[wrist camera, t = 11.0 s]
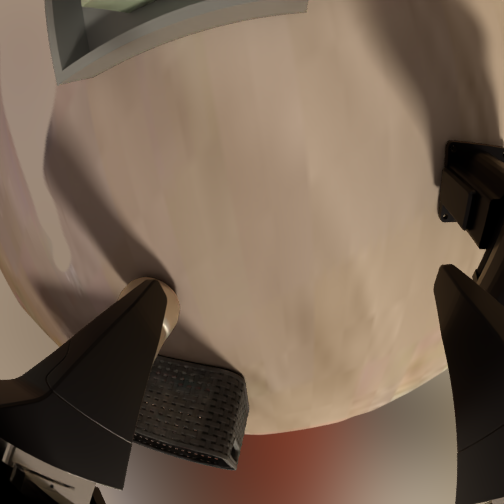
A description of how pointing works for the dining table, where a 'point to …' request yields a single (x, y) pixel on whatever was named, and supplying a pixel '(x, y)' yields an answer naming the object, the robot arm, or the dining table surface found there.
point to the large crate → (138, 29)
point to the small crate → (116, 4)
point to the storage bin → (194, 412)
